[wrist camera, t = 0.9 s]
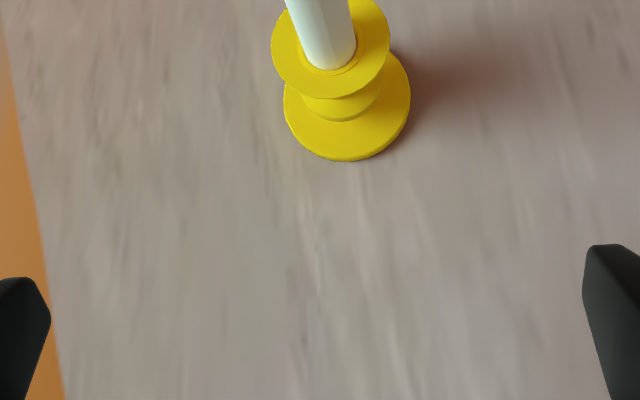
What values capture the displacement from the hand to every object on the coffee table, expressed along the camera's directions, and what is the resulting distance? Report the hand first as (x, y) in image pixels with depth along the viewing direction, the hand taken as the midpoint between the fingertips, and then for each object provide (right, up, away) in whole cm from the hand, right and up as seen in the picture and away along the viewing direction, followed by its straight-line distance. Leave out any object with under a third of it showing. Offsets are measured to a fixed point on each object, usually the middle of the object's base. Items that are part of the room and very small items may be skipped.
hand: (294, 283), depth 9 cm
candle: (+2, +5, +14) cm, 16 cm away
